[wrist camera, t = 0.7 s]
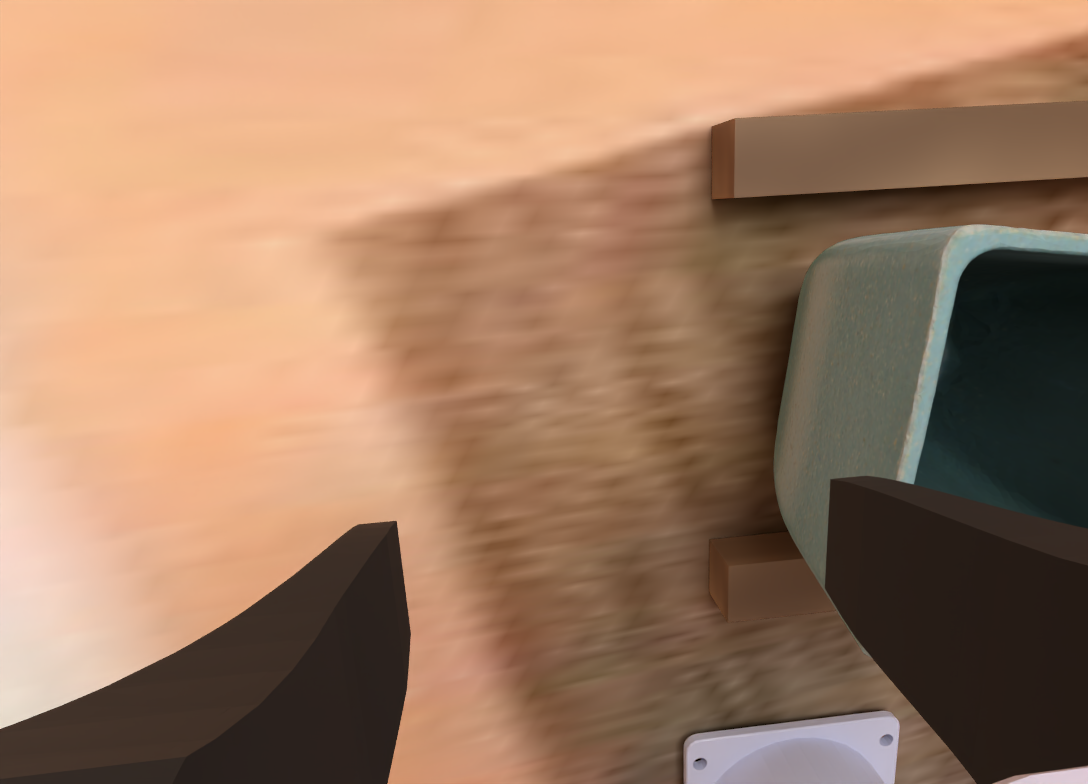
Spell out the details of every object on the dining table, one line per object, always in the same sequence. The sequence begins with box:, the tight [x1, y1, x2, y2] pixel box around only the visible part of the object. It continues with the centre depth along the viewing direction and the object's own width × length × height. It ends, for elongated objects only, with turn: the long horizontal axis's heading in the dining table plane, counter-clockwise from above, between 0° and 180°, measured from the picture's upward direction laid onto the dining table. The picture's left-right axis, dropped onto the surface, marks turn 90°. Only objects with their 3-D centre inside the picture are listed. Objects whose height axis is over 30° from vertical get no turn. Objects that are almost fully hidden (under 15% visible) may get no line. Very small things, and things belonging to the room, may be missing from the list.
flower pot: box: [774, 224, 1088, 658], centre depth 18 cm, size 9×9×9 cm
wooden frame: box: [709, 101, 1088, 623], centre depth 22 cm, size 15×24×2 cm, turn 93°
